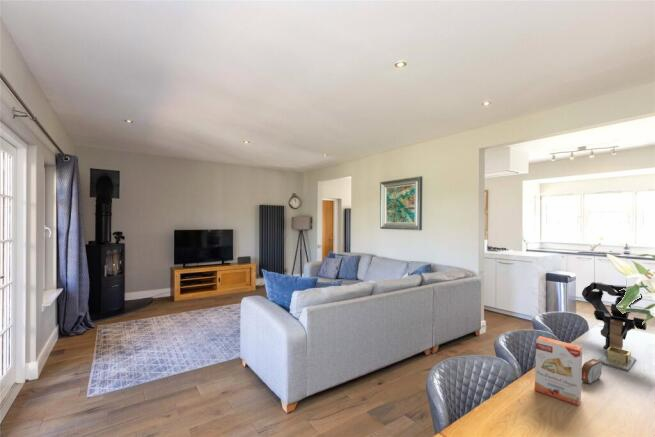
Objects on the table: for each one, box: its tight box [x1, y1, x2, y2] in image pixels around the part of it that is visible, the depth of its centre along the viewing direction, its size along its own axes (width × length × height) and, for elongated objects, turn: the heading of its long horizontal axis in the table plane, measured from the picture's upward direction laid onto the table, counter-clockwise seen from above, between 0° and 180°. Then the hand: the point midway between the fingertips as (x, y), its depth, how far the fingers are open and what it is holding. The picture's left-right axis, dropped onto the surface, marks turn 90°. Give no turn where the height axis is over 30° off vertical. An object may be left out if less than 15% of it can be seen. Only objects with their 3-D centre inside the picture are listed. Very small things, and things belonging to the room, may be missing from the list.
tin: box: [581, 358, 603, 385], centre depth 133 cm, size 15×3×8 cm, turn 120°
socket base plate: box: [597, 346, 637, 372], centre depth 152 cm, size 20×11×5 cm, turn 128°
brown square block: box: [610, 320, 624, 349], centre depth 152 cm, size 4×4×12 cm
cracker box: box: [534, 335, 583, 407], centre depth 121 cm, size 14×6×21 cm, turn 44°
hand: (615, 333), depth 151 cm, fingers closed on brown square block, 4 cm apart
